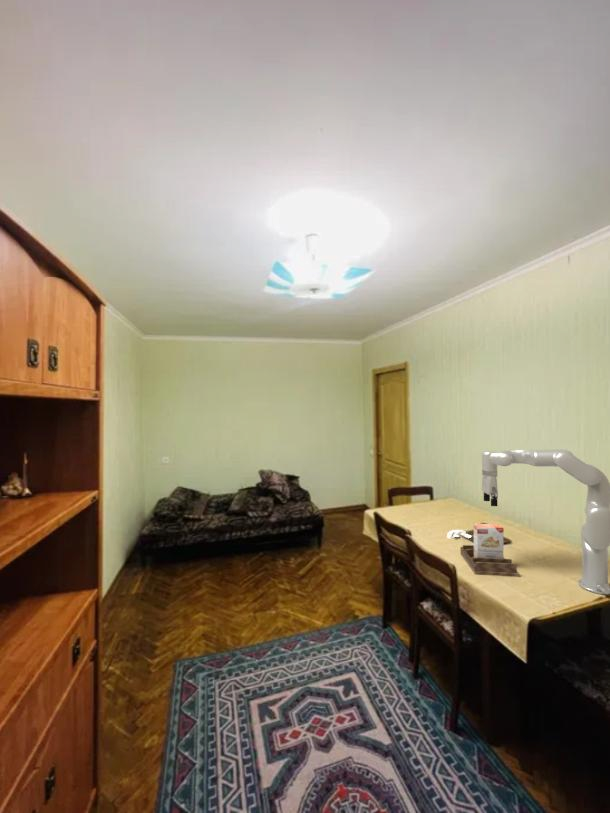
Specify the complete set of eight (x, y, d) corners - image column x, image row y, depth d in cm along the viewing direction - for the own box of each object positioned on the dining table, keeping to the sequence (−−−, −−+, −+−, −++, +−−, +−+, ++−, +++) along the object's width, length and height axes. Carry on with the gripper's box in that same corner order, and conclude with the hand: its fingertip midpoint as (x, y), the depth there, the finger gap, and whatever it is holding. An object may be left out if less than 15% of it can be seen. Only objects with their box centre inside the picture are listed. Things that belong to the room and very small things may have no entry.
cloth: (463, 529, 242) (463, 526, 242) (483, 542, 220) (483, 538, 220) (437, 531, 239) (436, 528, 239) (454, 544, 217) (454, 540, 217)
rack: (499, 555, 199) (499, 545, 199) (519, 576, 175) (519, 565, 175) (460, 554, 202) (460, 544, 202) (474, 574, 178) (474, 563, 178)
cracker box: (477, 564, 186) (477, 526, 186) (473, 559, 192) (472, 523, 192) (504, 565, 184) (503, 527, 184) (499, 560, 190) (498, 523, 190)
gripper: (476, 470, 198) (477, 499, 198) (489, 476, 181) (489, 508, 181) (490, 470, 197) (490, 499, 197) (503, 476, 180) (504, 508, 180)
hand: (490, 503), depth 189 cm, fingers open, 9 cm apart
